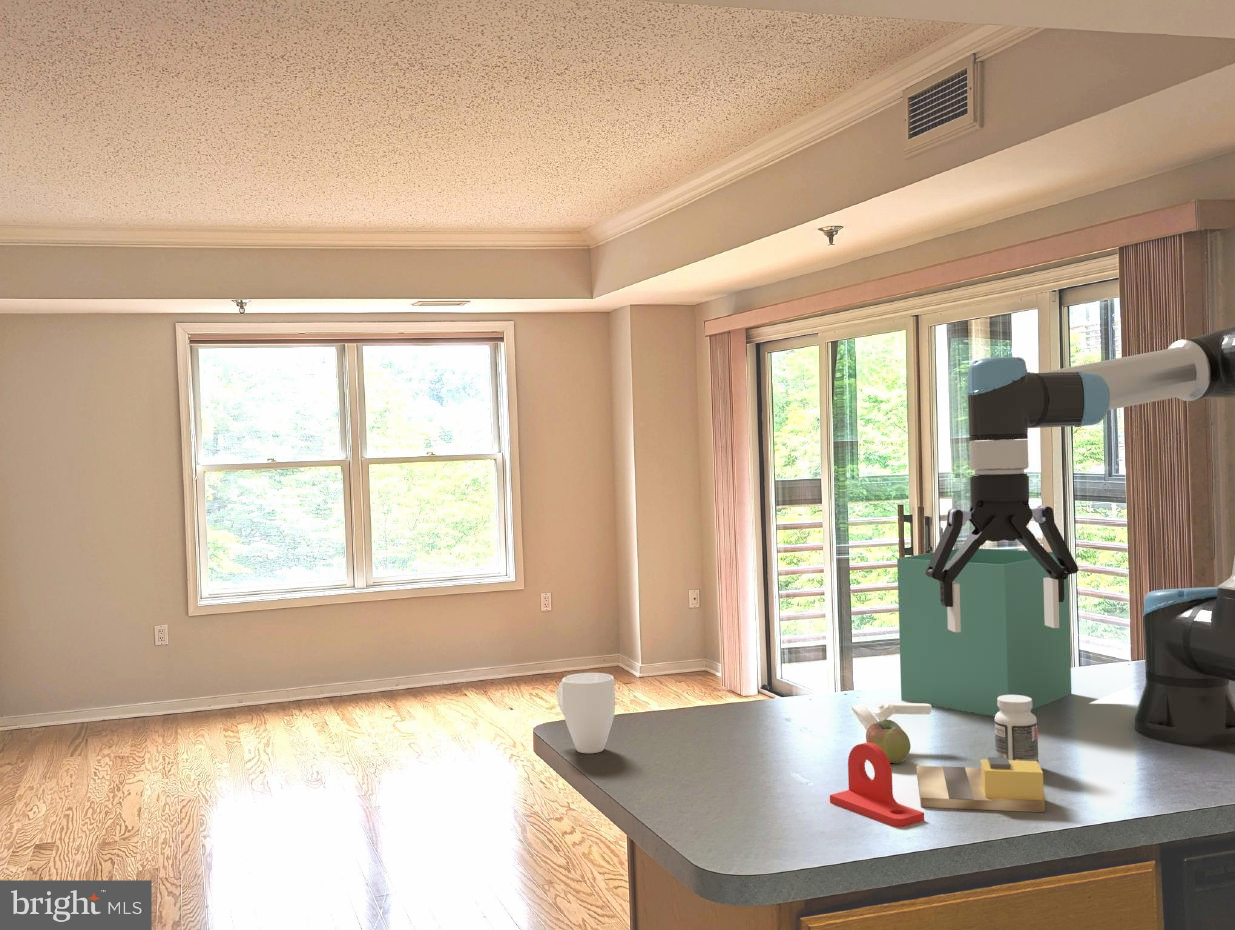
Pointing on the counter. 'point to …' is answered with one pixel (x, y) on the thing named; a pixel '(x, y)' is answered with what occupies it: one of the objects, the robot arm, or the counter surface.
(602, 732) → the mug
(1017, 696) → the pill bottle
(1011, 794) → the block
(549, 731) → the counter surface
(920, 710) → the hook
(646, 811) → the counter surface
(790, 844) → the counter surface
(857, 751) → the bracket
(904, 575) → the box
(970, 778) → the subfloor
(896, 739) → the apple
